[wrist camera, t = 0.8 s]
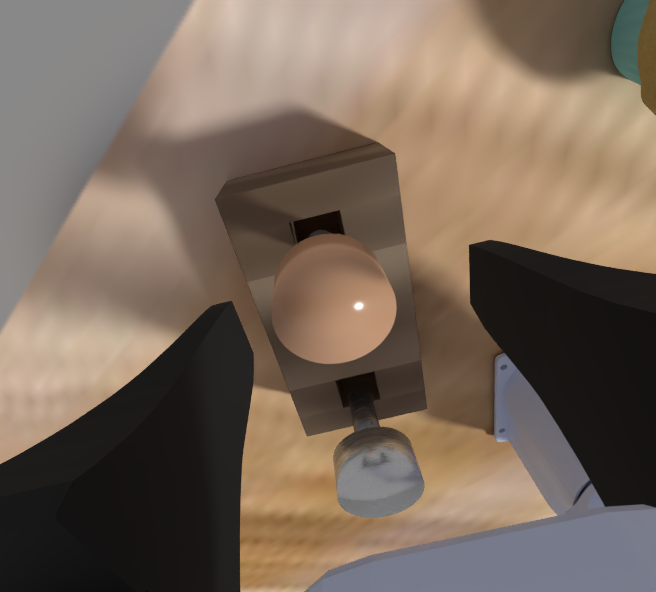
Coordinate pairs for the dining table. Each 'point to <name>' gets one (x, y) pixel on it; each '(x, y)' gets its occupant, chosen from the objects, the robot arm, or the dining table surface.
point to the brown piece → (355, 221)
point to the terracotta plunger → (331, 299)
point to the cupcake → (637, 46)
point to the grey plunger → (375, 464)
